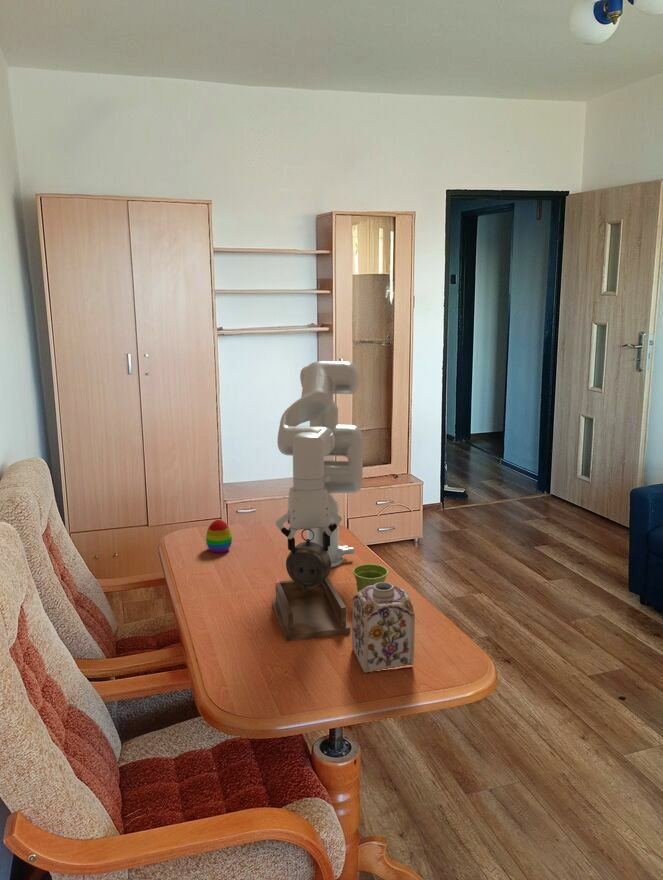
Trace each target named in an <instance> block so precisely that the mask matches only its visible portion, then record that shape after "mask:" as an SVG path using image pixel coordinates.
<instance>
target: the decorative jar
mask: <svg viewBox="0 0 663 880" xmlns="http://www.w3.org/2000/svg"><path fill="white" fill-rule="evenodd" d="M415 617H416V614H415V610H414V606H413V604H412V600H411V598H410V595H409V594H408V591H406V590H405V589H404V588H400V587H398V586H395V585H393V584H392V583H391V582H387V581H385V582H379V583H376V584H374V585H370V586H367V587H365V588H363V589H362V590H360V591H359V592H358V591H357V593H356V594H355V595H354V596H353V597H352V617H351V618H352V621H351V622H352V624H351V625H352V626H351V629H352V631H351V641H352V643H351V645H352V650H353V652H354V654H355V657H356V660H357V661H358V663H359V665H360V668H361V669H362V671H363V673H364V672H365V674H368V673H367V672H370V673H374V672H373V671H377V670H382V669H388V668H395V667H400V666H406V665H413V666H414V665H415V664H414V661H415V624H416V622H415V619H416V618H415Z"/></svg>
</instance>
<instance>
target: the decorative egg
mask: <svg viewBox="0 0 663 880" xmlns="http://www.w3.org/2000/svg"><path fill="white" fill-rule="evenodd" d="M205 542H206V546H207V548H208V549H209V551H210V552H212V553H215V552H216V554H219V553H221V552H222V553H226V552H227V551H229V549H230V548H231V546H232V542H233V536H232V531H231V529H230V526H229V525H228V523H226V522H225V521H224V520H222V519H215V520H214V521H213V522H211V523H210V525H209V527H208V528H207V530H206V535H205Z"/></svg>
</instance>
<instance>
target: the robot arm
mask: <svg viewBox="0 0 663 880" xmlns="http://www.w3.org/2000/svg"><path fill="white" fill-rule="evenodd" d="M299 380H300V384H301V388H302V389H301V397H300V398H299V399H297V400H296V401H294V402H293V403H291V404H290V406H289V407H287V408H286V410H285V411H284V412H283V413H282V415H281V418H280V420H279V421H280V422H279V427H278V433H277V447H278V450H279V452H280V453H281V454H283V455H285V456H289V457H290V456H291V457H292V484H293V485H292V486H291V487H289V491H288V499H287V511H286V512H287V513H285V514H283V515H282V516H280V518H279V519H278V520H276V521H275V523H274V524H275V525H276V527H277V529H278V530H279V531H280V532H281V534H283V535H285V537H287V549H288V551H290V552H291V553H292V554H295V547H296V539H295V537H294V536H295V535H296V533H297V531H298V530H299V531H300V530H301V531H302V530H304V529H311V530H312V531H313V532H314V538H313V533H312V532H311V531H310V530H306V531H307V533H306V534H307V535H306V536H307V538H306V540H307V539H310V540H311V539H312V538H313V539H312V540H311V541H310V542H313V543H316V544H318V545H320V546H321V547H323V548H324V550H325V551H326V552H327V553H328V555H329V557H330V560H331V567H332V568H336V567H338V566H340V565H341V564H343V562H344V556H345V555H353V554H355V550H354V547H348V545H343V546H341V545H340V544H339V524H340V523H341V522H342V521H343V520H342V519H343V518H342V517H341V516H340V515H339V504H338V502H337V500H336V499H335V497H334V496H333V494H354V493H358V492H359V491H360V490H361V488H362V485H363V473H364V471H363V468H364V467H363V466H364V464H363V457H364V455H363V453H364V451H363V450H364V445H363V444H364V443H363V442H364V441H363V439H364V438H363V434H362V433H363V432H362V430H361V429H360V427H359V426H357V425H355V424H354V425H353V424H339V407H338V405H337V403H336V402H335V400H334V399H333V398H334V397H333V396H334V395H353V394H356V393H357V392H358V389H359V386H360V380H361V379H360V371H359V369H358V367H357V366H356V364H355V363H353V362H350V361H345V360H344V361H343V360H342V361H339V360H338V361H337V360H333V361H332V360H331V361H330V360H319V361H317V360H316V361H314V362H311V363H310V364H307V366H304V367H303V368H302V369H301V370H300V373H299ZM306 422H309V425H301V424H304V423H306ZM324 457H345V458H346V459H347V460H325V458H324ZM286 522H287V524H289V527H288V529H287V527H285V526H284V524H285V523H286Z"/></svg>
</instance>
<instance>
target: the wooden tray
mask: <svg viewBox="0 0 663 880" xmlns="http://www.w3.org/2000/svg"><path fill="white" fill-rule="evenodd" d="M293 582H294V581H293V580H292V579H290V580H280V581H278V582H276V583H275V598H274V599H272V600H271V601H272V602H271V603H272V608H273V609H274V614H275V616H276V618H277V621H278V624H279V627H280V629H281V632H282V634H283V637H284V639H285V642H290V641H298V640H307V639H315V638H322V637H330V636H338V635H339V634H340V635H346V633H348V634H351V626H350V624H349V623H348V621H347V607H346V605H345V603H344V602H343V600H342V598H341V597H340V595H339V593H338V591H337V589H336V588H335V586H334V585H333V582H332V581H331V579H330V578H329V577H326V578H325V580H324V581H323V582H322V583H323V584H324V586H325V588H326V590H324V588H323V587H322V586H321V585H318V586H315V587H307V588H306V592H304V591H303V589H304V587H303V586H301V585H299V584H297V583H295V585H293Z"/></svg>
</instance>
